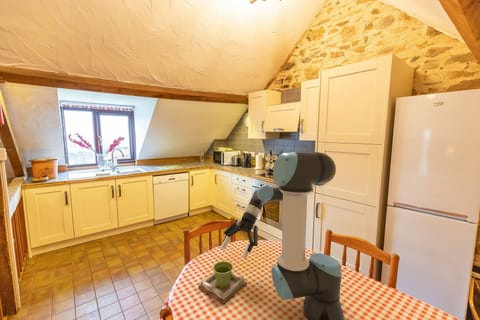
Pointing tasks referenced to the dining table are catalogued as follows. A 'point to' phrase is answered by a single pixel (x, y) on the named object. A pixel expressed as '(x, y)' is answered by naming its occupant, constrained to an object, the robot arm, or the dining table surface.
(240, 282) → the stand
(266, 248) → the dining table surface
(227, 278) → the plant pot
